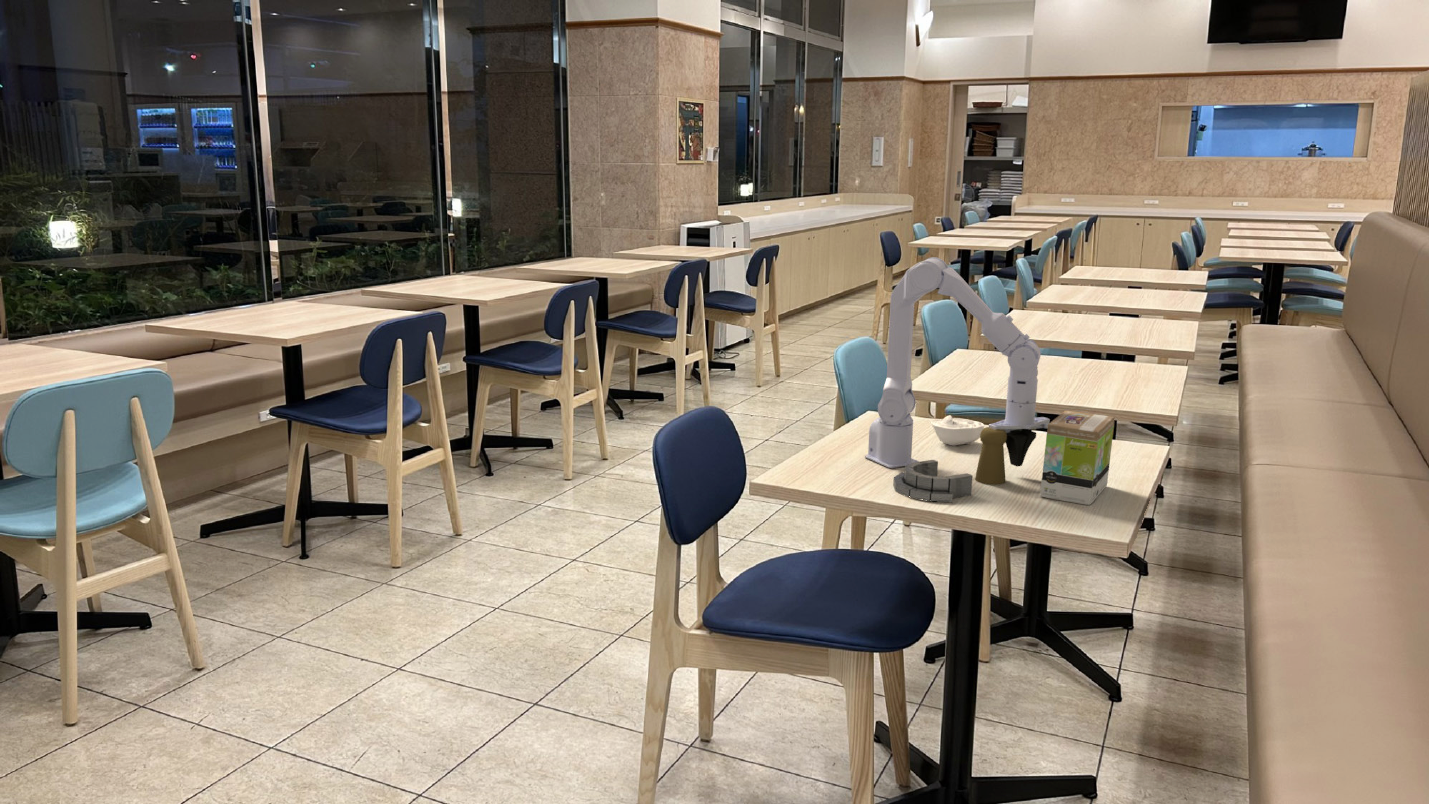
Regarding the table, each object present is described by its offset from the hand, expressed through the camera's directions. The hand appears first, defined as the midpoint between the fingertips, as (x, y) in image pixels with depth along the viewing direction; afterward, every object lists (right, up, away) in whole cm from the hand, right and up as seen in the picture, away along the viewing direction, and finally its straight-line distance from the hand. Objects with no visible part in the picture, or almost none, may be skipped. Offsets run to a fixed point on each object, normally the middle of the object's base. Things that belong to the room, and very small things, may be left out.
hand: (1016, 464), depth 215 cm
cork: (-6, -3, -2) cm, 7 cm away
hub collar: (-20, -4, -9) cm, 23 cm away
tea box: (+9, -5, -9) cm, 14 cm away
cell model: (-7, +3, +25) cm, 26 cm away
